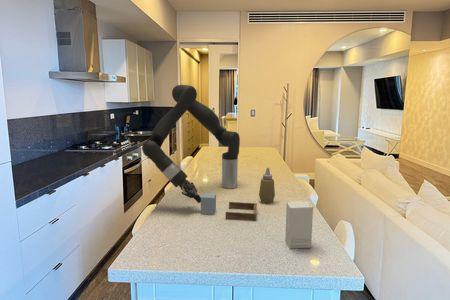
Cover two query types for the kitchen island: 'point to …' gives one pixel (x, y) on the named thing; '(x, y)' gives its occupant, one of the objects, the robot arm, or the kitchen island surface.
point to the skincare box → (299, 224)
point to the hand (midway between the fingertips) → (200, 201)
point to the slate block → (208, 203)
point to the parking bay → (242, 215)
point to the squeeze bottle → (267, 188)
